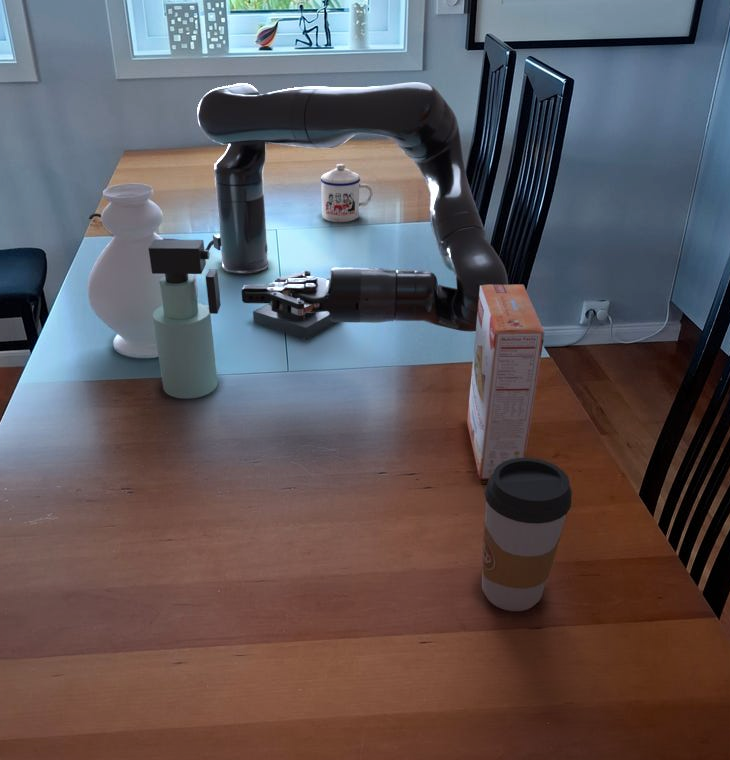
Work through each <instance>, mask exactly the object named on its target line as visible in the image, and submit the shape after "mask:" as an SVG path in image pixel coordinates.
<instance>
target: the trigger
mask: <svg viewBox="0 0 730 760" xmlns="http://www.w3.org/2000/svg"><path fill="white" fill-rule="evenodd" d="M219 283H220V282H219V272H218V269H217V268H210V269H208V271H207V273H206V275H205V285H206V293H207V304H208V305H207V306H208V307H209V313H210V314H211V315H217V314H218V313H219V311H220V309H221V306H222V303H221V302H222V301H221V293H220V284H219Z"/></svg>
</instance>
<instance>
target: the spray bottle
mask: <svg viewBox="0 0 730 760" xmlns="http://www.w3.org/2000/svg"><path fill="white" fill-rule="evenodd" d="M148 249H149V256H150V262H151V269H152V274H165V276H164V277H162V278H161V279H160V288H161V296H162V303H163V306H161V307H159V308H157V309H156V310H155V311H154V312H153V315H152V316H153V323H154V330H155V336H156V343H157V349H158V356H159V357H158V362H159V368H160V376H161V381H162V389H163V392H165V393H166V394H167V395H169V396H170V397H172V398H177V399H189V400H190V399H197V398H201V397H203V396H204V397H205V396H207V395H209V394H211V393H212V392H214V391H215V390H216V389H217V387H218V385H219V384H218V383H219V382H218V381H219V380H218V373H217V364H216V353H215V344H214V333H213V325H212V316H211V315H212V314H210V313H209V306H208V305H206V304H205V303H201V302H199V301H198V297H197V294H196V285H195V278H194V276H192V275H190V274H195V275H202V273H203V271H204V270H205V267H206V266H207V262H206V260H209V259H210V250H209V251H208V250H205V243H204V239H179V240H154V241H153V242H152V244H151V245H150V247H149V248H148Z"/></svg>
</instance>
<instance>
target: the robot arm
mask: <svg viewBox="0 0 730 760" xmlns="http://www.w3.org/2000/svg"><path fill="white" fill-rule="evenodd" d="M197 122H198V124H199V127H200V129H201V130H202V132H203V134H204V135H205V136H206V137H207V138H208V139H209V140H211V141H212V142H214V143H216V144H219V145H228V146H227V149H226V151H225V152H224V154H223V155H222V156H221V157H220V158H219V159H218V160H217V162H216V163H214V168H213V173H214V184H215V195H216V204H217V205H216V206H217V216H218V217H217V220H218V230H219V233H218V234H213V235H212V240H210V242H209V243H208V244H207V246H206V248H204V250H208V251H209V252H210V249H211V248H212V247H213V248H215V250H217V251H220V253H221V265H222V266H221V267H222V269H223V270H224V271H225V272H227V273H230V274H235V275H250V274H257V273H259V272H260V273H261V272H263V271H264V270H266V269H267V268H268V267H269V260H268V252H269V249H268V248H269V247H268V241H267V239H268V238H267V224H266V223H267V222H266V208H265V207H266V205H265V191H264V167H265V164H266V160H267V159H266V158H267V144H272V145H282V146H289V147H299V148H307V149H309V148H310V149H334V148H338V147H340V146H342V145H344V144H345V143H346V142H348V141H349V140H350V139H352V138H353V137H354V136H356V135H374V136H381V137H385V138H388V139H390V140H392V141H393V142H394V143H395V144H396V145H397V146H398V147H399V148H400V150H401V151H402V152H403V153H404V154H405V155H406V156H407V157H408V158H410V159H412V161H413V162H414V163H415V165H416V167H417V168H418V170H419V173H421V175H422V177H423V179H424V181H425V184H426V187H427V190H428V193H429V211H428V212H429V222H430V227H431V231H432V234H433V238H434V240H435V244H436V247H437V250H438V253H439V256H440V258H441V261H442V263H443V265H444V266H445V268H446V269H448V270H449V271H451V272H453V274H454V277H455V278H454V279H455V283H456V288H455V287H450V286H446V285H441V284H439V281H438V278H437V276H436V274H435V273H434V272H432V271H429V270H422V269H421V270H420V269H419V270H415V269H410V270H409V269H397V270H396V269H389V268H381V267H333V268H331V269H330V272H329V278H323V277H317V276H312V275H311V271H310V270H307V269H306V270H302V271H299V272H294V273H290V274H287V275H282V276H279V277H276V278H275V279H274V281H273V282H270V283H268V284H244V285H243V286H242V289H241V302H243V304H269V306H271V310H272V311H274V312H277V313H279V314H282V315H285V316H287V317H290V318H293V319H296V320H299V321H301V320H304V319H305V313H319V312H325V311H328V312H329V317H330V320H331V321H332V322H336V323H366V324H367V323H371V324H372V323H373V324H376V323H377V324H378V323H380V324H381V323H388V322H425V323H429V324H431V325H435V326H437V327H443V328H446V329H451V330H455V331H460V332H468V333H471V332H472V333H473V332H475V333H476V325H477V312H478V302H479V291H480V285H509V277H508V273H507V271H506V267H505V265H504V263H503V261H502V259H501V258H500V257H499V255H498V253H497V252H496V250H495V249H494V247H493V246H492V244H491V243H490V242H489V240H488V236H487V233H486V230H485V228H484V225H483V222H482V219H481V216H480V213H479V209H478V207H477V205H476V202H475V199H474V197H473V193H472V190H471V187H470V184H469V181H468V176H467V172H466V167H465V163H464V162H465V161H464V157H463V156H464V155H463V149H462V148H463V147H462V141H461V140H462V139H461V135H460V128H459V123H458V119H457V116H456V114H455V112H454V110H453V109H452V107H451V106H450V105H449V103H447V101H446V100H445V99H444V97H443V96H442V94H441V92H439V90H438V89H436V87H434V86H432V85H431V84H429V83H427V82H422V81H405V82H399V83H392V84H391V83H390V84H385V85H377V86H367V87H329V86H303V87H294V88H287V89H282V90H276V91H272V92H267V93H263V94H260V93H259V91H258V90H257V88H255V87H254V86H253V85H251V84H248V83H236V84H233V85H228V86H227V85H226V86H222V87H217V88H214V89H212V90H210V91H209V92H207V93H206V94H205V95H204V96H203V97H202V98H201V100H200V102H199V104H198V107H197ZM101 214H102V213H99V212H94V213H91V214H90V215H89V217H88V220H92V219H94V218H95V217H98V218H100V219H101ZM163 239H164V240H180V239H179V238H165V237H164V238H163ZM291 294H292V296H291Z"/></svg>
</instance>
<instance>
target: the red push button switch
mask: <svg viewBox="0 0 730 760" xmlns="http://www.w3.org/2000/svg"><path fill="white" fill-rule="evenodd" d="M252 316H253V323H254V324H258V325H260V326H263V327H265V328H266V327H267V328H269V329H273V330H276V331H278V332H282V333H285V334H288V335H291V336H294V337H297V338H300V339H304V340H309V339H310V338H312V337H313V336H315V335H317V334H319V333H321V332H323V331H324V330H326V329H328V328H329V327H332V326H333V325H335V324H336V323H337V322H332V321H331V320H330V317H329V312H328V311H325V312H319V313H305V319H304V320H301V321H299V320H296V319H293V318H290V317H287V316H285V315H282V314H279V313H277V312H274V311H272V310H271V306H269V304H268V303H265V304H264V305H263V306H260V307H258V308H257V309H253V311H252Z"/></svg>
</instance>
